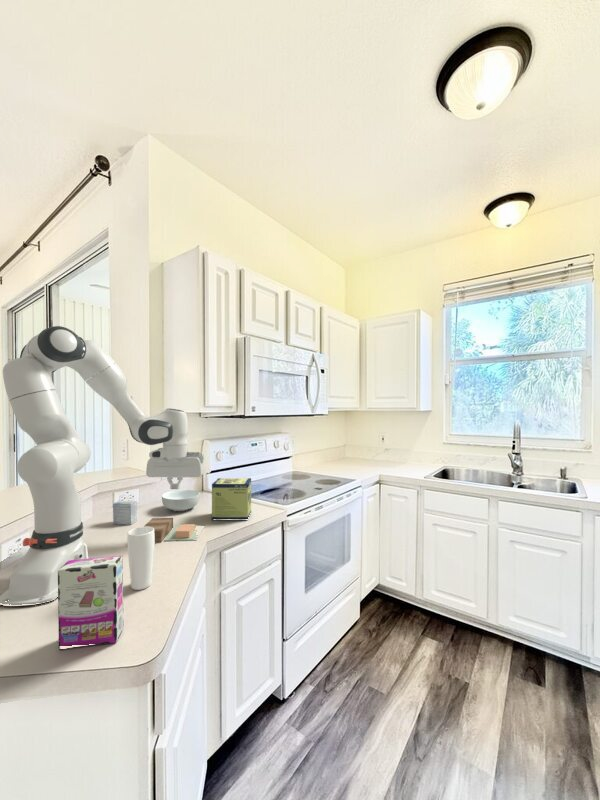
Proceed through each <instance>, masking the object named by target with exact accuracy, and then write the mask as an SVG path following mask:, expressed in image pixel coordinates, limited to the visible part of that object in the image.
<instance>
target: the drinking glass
mask: <svg viewBox="0 0 600 800" xmlns="http://www.w3.org/2000/svg"><path fill="white" fill-rule="evenodd" d="M144 526H145V525H144ZM144 526H139V527H134V528H132V529H130V530H129V531H128V532H127V537H126V538H127V540H126V543H127V544H126V545H127V546H126V547H127V558H128V565H129V566H128V567H129V568H128V569H129V578H130V588H131V589H132V590H135V591H141V590H144V589H147V588H149V587H150V586H151V585H152V584H153V583H152V582H153V571H154V570H153V568H154V559H155V558H154V557H155V556H154V555H155V533H154V528H153V527H148V526H145V527H144Z"/></svg>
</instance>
